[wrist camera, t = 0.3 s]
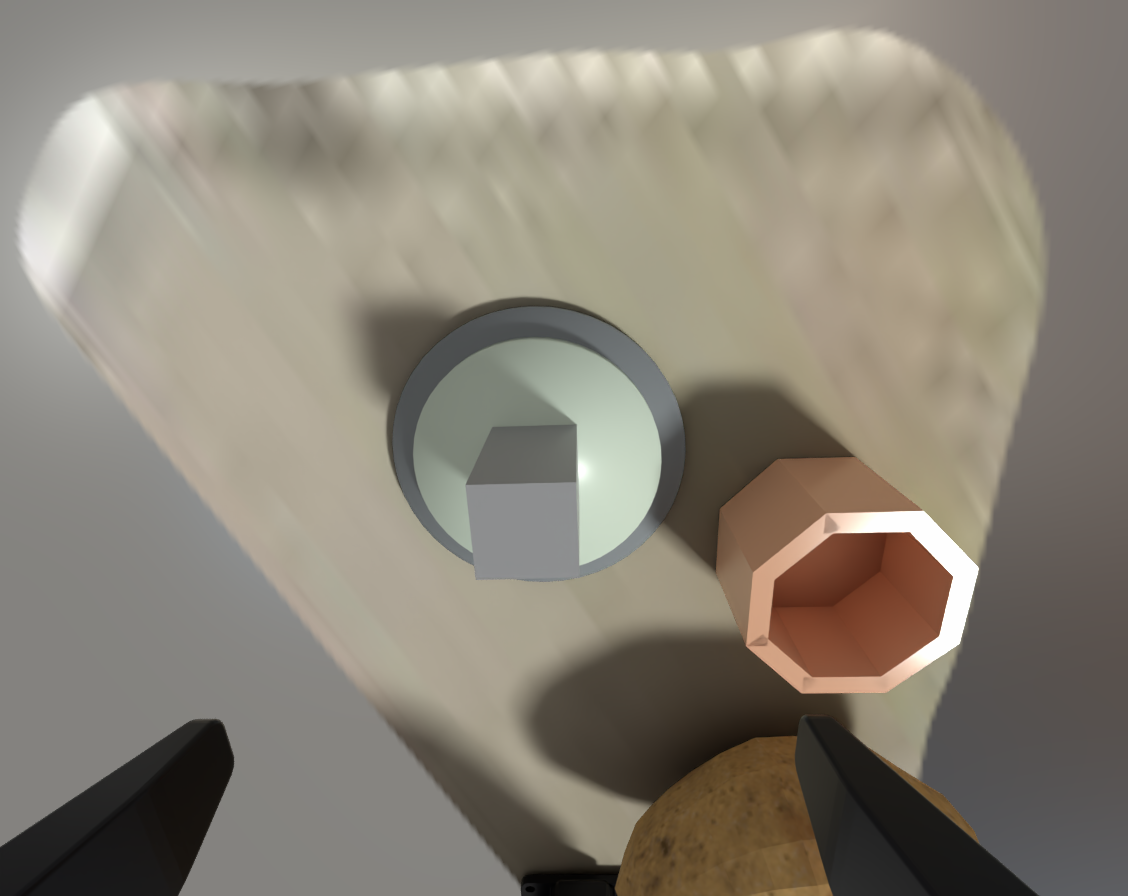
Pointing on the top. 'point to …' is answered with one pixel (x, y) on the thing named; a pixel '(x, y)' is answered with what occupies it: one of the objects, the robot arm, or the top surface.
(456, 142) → the top surface
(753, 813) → the potato
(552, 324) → the mat
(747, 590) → the cup
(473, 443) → the lid
